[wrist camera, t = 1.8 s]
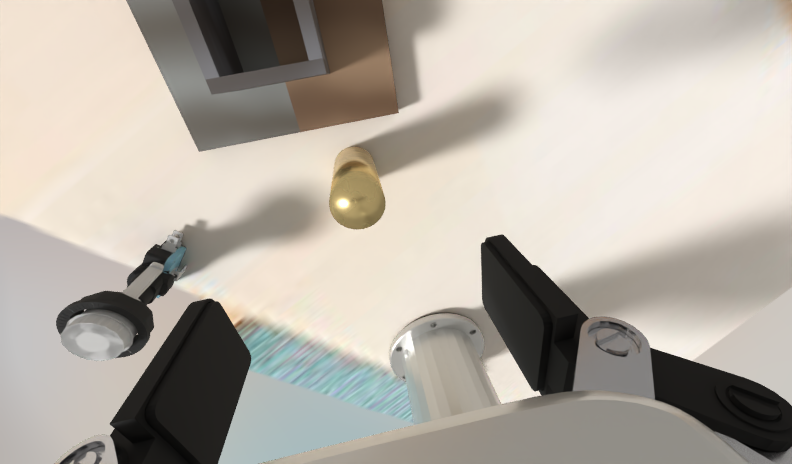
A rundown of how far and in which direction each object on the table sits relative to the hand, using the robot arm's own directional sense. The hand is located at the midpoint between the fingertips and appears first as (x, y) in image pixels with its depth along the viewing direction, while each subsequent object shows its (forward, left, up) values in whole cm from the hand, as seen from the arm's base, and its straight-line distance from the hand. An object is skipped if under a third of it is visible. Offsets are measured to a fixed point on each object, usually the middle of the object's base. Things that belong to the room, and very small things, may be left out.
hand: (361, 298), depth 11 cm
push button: (-5, +19, -19) cm, 27 cm away
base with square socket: (+11, +3, -19) cm, 22 cm away
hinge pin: (0, 0, -19) cm, 19 cm away
